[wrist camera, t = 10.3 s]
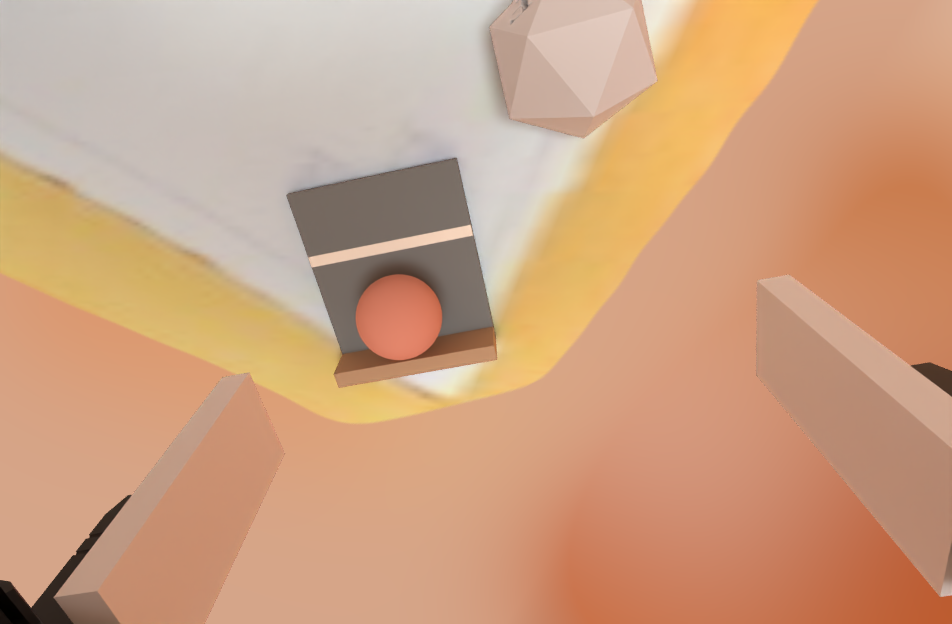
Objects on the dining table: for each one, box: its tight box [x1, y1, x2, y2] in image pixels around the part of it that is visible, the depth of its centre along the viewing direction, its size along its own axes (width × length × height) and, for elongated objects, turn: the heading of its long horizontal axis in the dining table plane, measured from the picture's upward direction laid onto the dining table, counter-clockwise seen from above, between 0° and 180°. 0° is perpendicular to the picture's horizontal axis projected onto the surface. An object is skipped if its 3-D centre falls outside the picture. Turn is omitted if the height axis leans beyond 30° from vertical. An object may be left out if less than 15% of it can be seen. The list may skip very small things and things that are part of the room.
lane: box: [286, 158, 497, 388], centre depth 41 cm, size 14×12×4 cm
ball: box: [356, 274, 442, 360], centre depth 40 cm, size 6×6×6 cm
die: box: [489, 0, 658, 138], centre depth 32 cm, size 8×9×10 cm
